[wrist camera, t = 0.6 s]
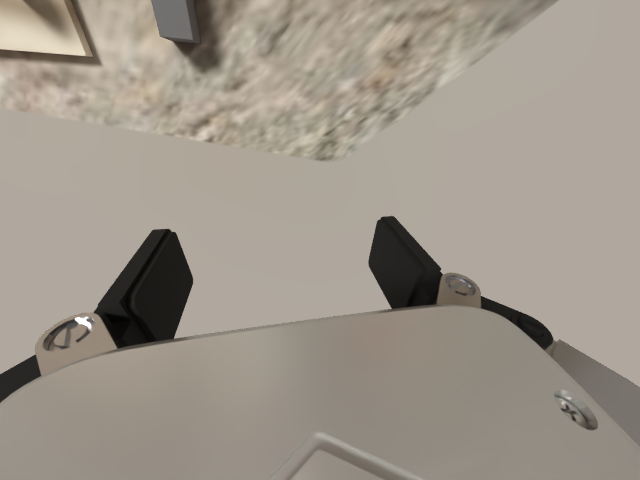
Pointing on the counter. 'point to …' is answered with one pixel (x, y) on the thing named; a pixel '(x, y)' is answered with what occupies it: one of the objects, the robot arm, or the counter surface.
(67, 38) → the clip board
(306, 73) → the counter surface
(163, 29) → the bar
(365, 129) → the counter surface
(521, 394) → the robot arm
